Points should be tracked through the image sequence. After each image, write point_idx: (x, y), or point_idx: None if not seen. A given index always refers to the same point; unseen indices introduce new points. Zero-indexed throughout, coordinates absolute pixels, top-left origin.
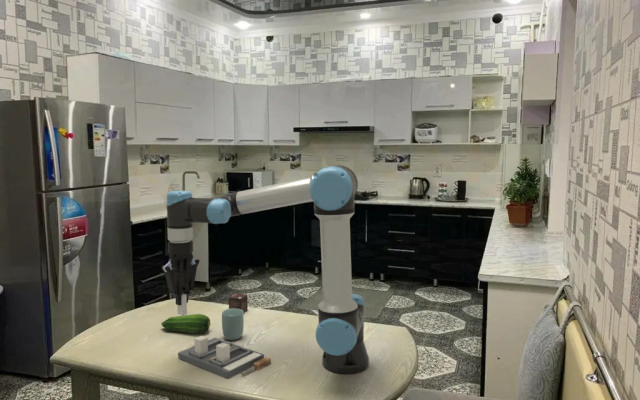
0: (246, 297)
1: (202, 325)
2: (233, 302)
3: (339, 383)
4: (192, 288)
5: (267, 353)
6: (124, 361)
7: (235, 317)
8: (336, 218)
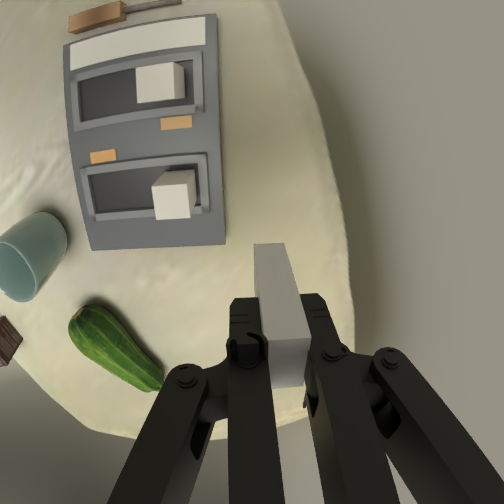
0: None
1: (94, 317)
2: (4, 348)
3: None
4: (183, 374)
5: (40, 80)
6: None
7: (14, 240)
8: None
